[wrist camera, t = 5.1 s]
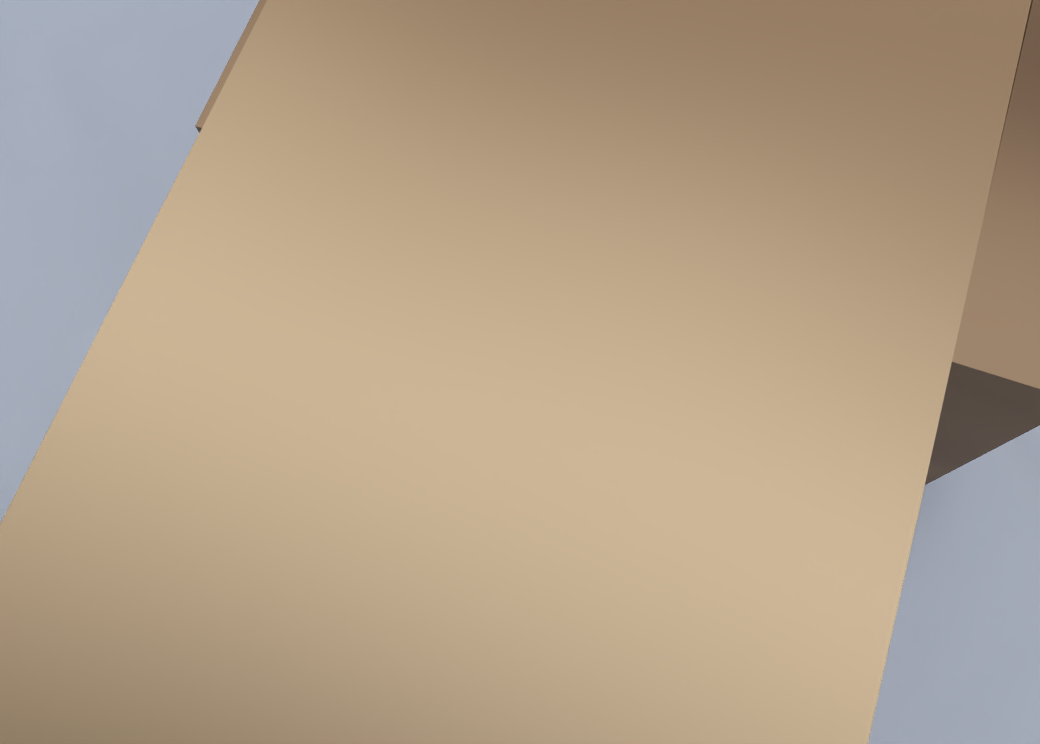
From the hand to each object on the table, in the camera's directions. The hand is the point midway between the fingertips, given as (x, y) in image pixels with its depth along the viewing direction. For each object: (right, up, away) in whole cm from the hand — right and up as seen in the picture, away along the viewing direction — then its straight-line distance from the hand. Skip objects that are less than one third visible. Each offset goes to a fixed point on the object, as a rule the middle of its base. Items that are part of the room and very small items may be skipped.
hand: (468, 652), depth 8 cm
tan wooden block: (+1, 0, +7) cm, 7 cm away
